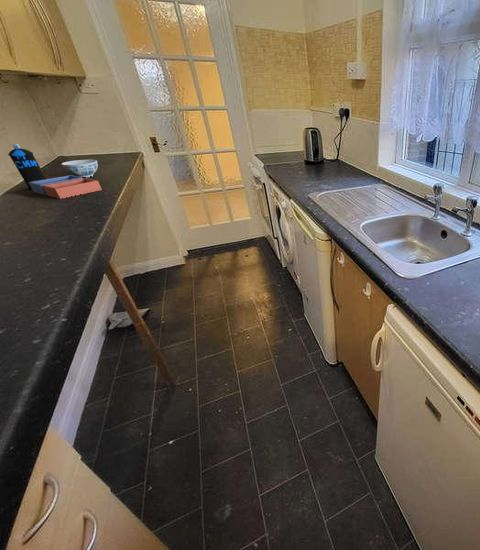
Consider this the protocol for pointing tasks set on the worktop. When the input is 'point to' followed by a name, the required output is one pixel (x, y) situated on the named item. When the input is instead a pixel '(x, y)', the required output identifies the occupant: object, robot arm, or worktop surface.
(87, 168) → the chinaware
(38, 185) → the blue bin
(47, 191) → the red bin
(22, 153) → the aerosol can
